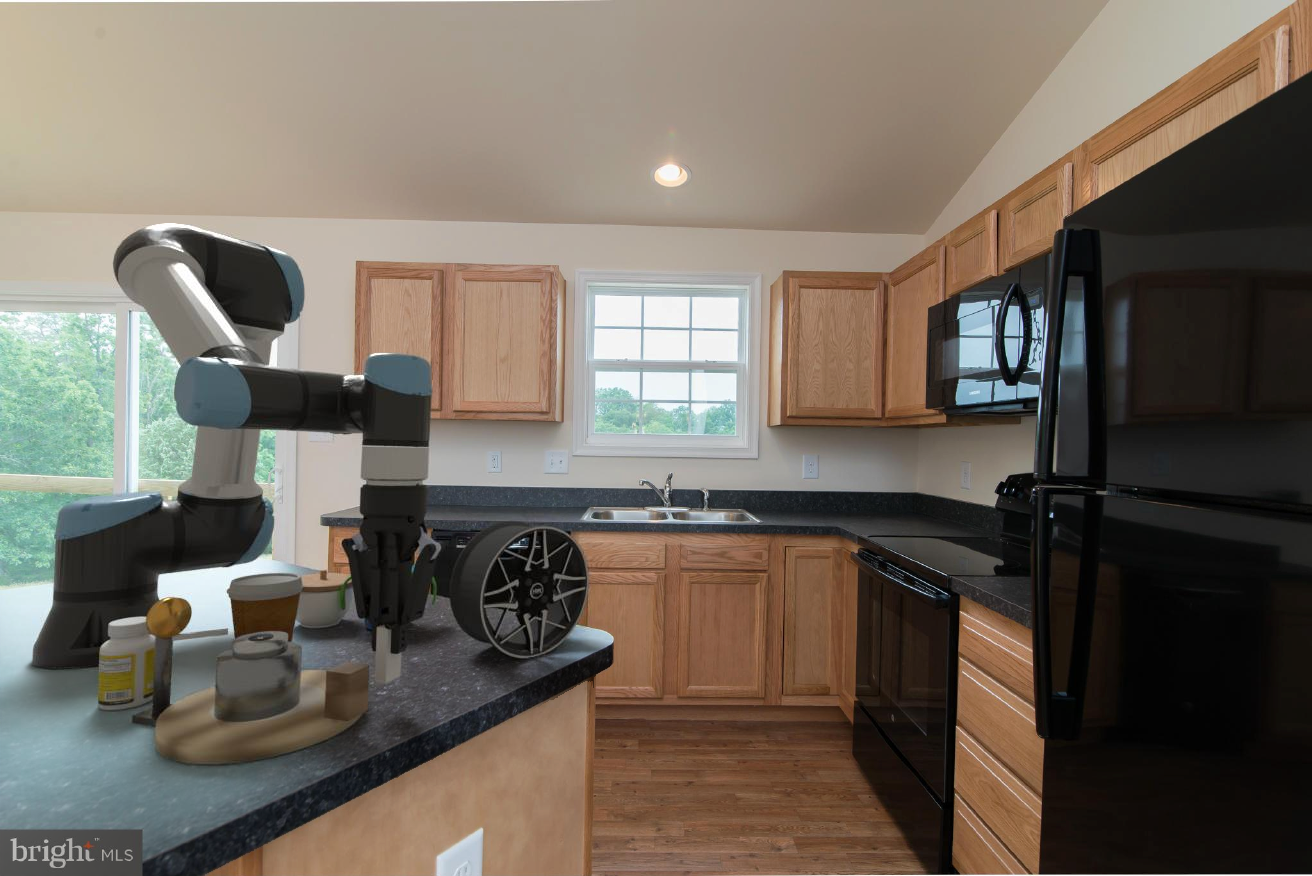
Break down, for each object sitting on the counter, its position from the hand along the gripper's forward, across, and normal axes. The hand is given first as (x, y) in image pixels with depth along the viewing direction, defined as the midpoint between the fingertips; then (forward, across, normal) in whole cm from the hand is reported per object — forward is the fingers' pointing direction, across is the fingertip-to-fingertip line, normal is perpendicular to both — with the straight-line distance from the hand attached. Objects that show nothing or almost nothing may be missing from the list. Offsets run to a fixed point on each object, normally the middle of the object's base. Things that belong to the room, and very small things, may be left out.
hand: (387, 679), depth 73 cm
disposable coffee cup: (+4, +28, -8) cm, 29 cm away
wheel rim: (+4, -5, -25) cm, 26 cm away
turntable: (+3, +10, +7) cm, 12 cm away
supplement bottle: (+4, +31, +8) cm, 32 cm away
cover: (+1, +10, +8) cm, 13 cm away
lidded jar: (+4, +35, -27) cm, 44 cm away
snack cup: (+4, +23, -29) cm, 37 cm away
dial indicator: (+4, +21, +8) cm, 23 cm away
